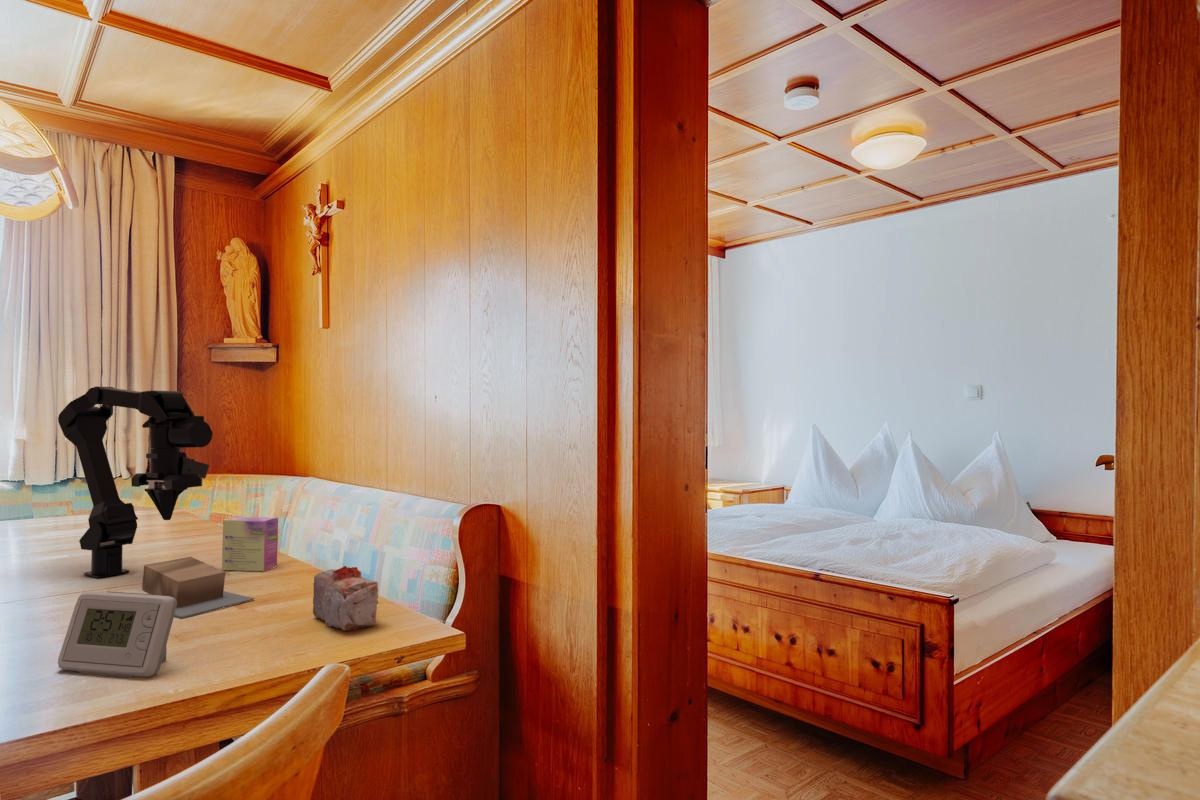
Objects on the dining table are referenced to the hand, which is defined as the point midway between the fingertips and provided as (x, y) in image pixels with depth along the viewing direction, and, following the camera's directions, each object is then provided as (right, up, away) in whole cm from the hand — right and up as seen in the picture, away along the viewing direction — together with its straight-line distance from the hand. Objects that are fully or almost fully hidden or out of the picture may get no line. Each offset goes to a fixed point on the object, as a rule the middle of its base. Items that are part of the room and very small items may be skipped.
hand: (167, 519), depth 152 cm
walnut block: (+7, -9, -12) cm, 17 cm away
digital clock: (+24, -13, -51) cm, 58 cm away
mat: (+16, -13, -17) cm, 27 cm away
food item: (+49, -14, -28) cm, 58 cm away
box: (+12, -14, +12) cm, 22 cm away
